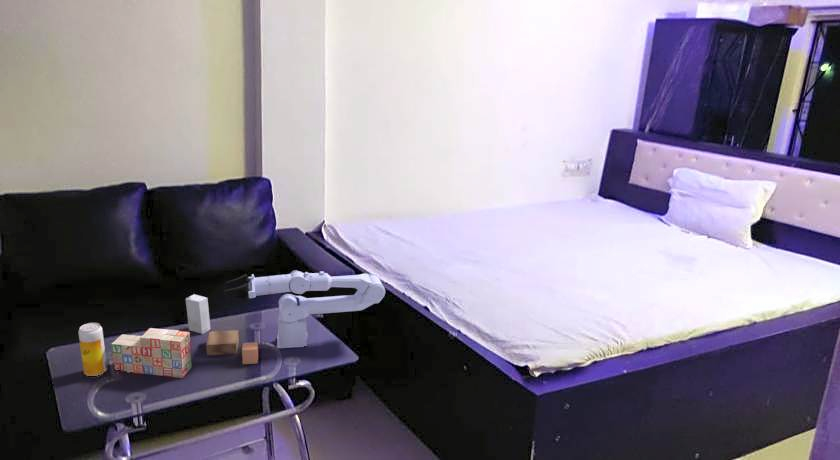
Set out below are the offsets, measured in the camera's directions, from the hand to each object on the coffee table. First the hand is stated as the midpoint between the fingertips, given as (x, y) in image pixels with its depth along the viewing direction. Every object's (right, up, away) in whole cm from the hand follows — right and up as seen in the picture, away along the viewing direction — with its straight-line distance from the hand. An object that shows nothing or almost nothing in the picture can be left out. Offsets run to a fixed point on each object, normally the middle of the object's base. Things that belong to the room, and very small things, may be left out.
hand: (224, 289), depth 192 cm
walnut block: (-2, -20, +6) cm, 21 cm away
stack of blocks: (-19, -23, -8) cm, 31 cm away
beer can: (-34, -23, -11) cm, 43 cm away
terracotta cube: (+8, -22, 0) cm, 24 cm away
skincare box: (-14, -16, +16) cm, 26 cm away
